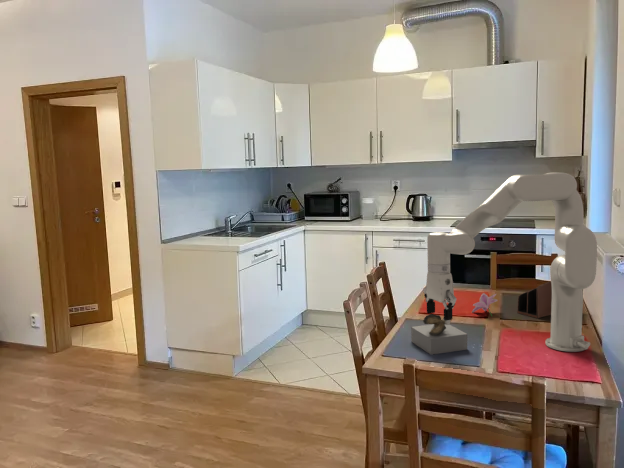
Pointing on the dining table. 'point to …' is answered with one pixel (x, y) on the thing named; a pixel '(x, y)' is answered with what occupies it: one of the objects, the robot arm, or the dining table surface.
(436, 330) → the eagle figurine
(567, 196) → the robot arm
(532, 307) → the letter holder
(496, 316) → the dining table surface
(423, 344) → the gray block
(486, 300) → the lily
